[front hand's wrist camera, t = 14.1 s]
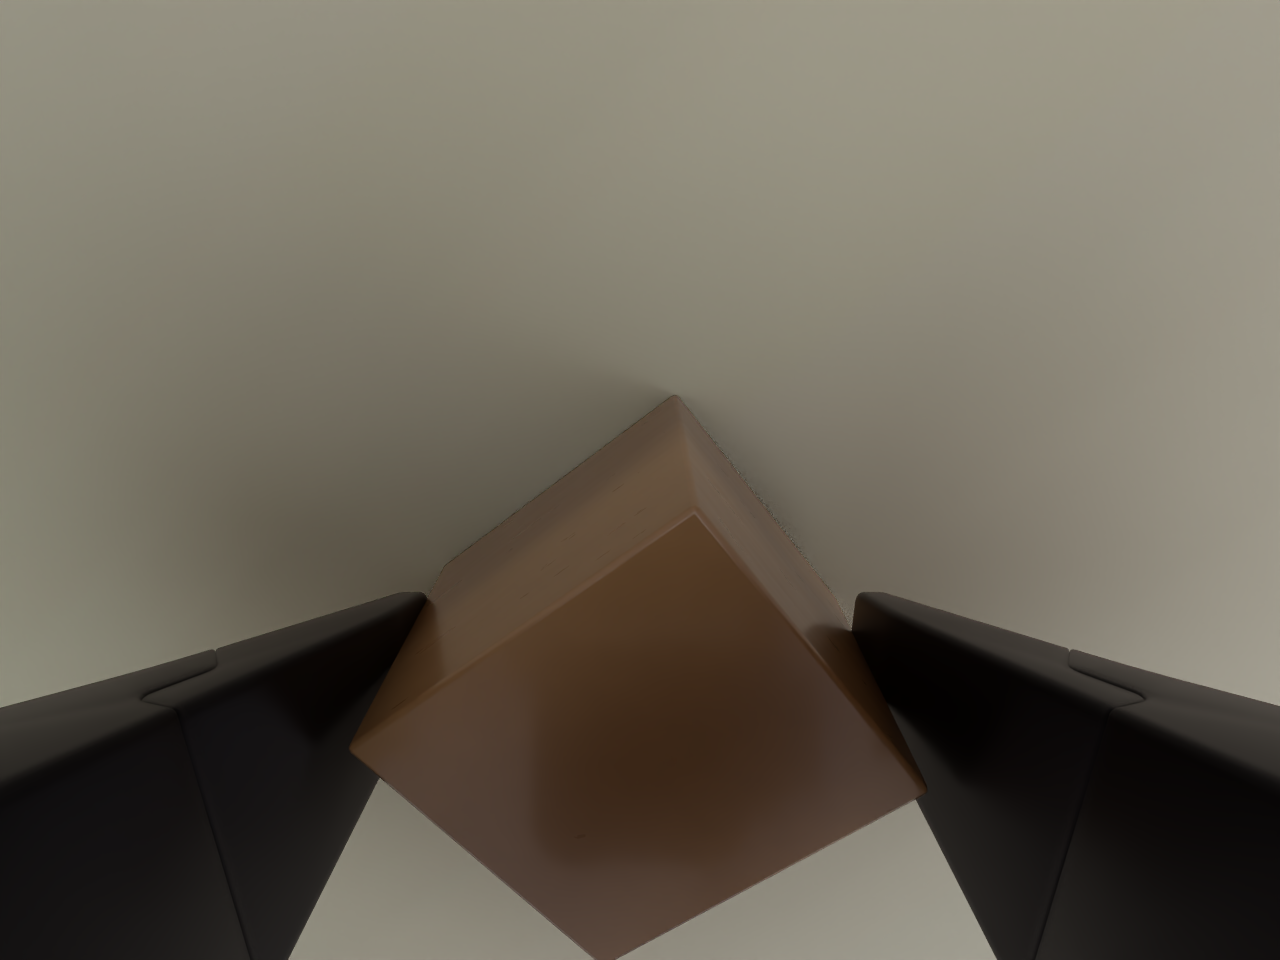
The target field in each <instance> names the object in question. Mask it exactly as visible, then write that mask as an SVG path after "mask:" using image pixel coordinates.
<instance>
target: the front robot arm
mask: <svg viewBox="0 0 1280 960" xmlns="http://www.w3.org/2000/svg"><path fill="white" fill-rule="evenodd" d="M426 600H427V597H426V595H425V594H424V593H422V592H402V593H397V594H394V595H390V596H387V597H384V598H381V599H377V600H374V601H371V602H367V603H364V604H361V605H358V606H354V607H351V608H348V609H345V610H341V611H338V612H335V613H332V614H328V615H325V616H322V617H318V618H315V619H312V620H309V621H305V622H302V623H299V624H296V625H292V626H289V627H286V628H283V629H279V630H276V631H273V632H269V633H266V634H263V635H260V636H256V637H253V638H250V639H247V640H243V641H240V642H237V643H234V644H230V645H227V646H224V647H220V648H218V649H217V650H216V652H215V650H213V649H211V650H208V651H204V652H201V653H198V654H194V655H191V656H188V657H184V658H181V659H178V660H174V661H171V662H167V663H164V664H160V665H157V666H154V667H150V668H147V669H143V670H139V671H136V672H132V673H129V674H125V675H121V676H118V677H114V678H111V679H107V680H103V681H99V682H96V683H92V684H88V685H84V686H81V687H77V688H73V689H69V690H66V691H62V692H58V693H54V694H51V695H47V696H43V697H39V698H36V699H32V700H28V701H24V702H20V703H17V704H13V705H9V706H5V707H2V708H0V960H288V959H289V957H290V955H291V953H292V951H293V949H294V947H295V945H296V943H297V941H298V939H299V937H300V935H301V933H302V931H303V929H304V927H305V925H306V923H307V921H308V919H309V917H310V915H311V913H312V911H313V909H314V907H315V905H316V903H317V901H318V899H319V897H320V895H321V893H322V891H323V889H324V887H325V885H326V883H327V881H328V879H329V877H330V875H331V873H332V871H333V869H334V867H335V865H336V863H337V861H338V859H339V857H340V855H341V853H342V851H343V849H344V847H345V845H346V843H347V841H348V839H349V837H350V835H351V833H352V831H353V829H354V827H355V825H356V823H357V821H358V819H359V817H360V815H361V813H362V811H363V809H364V807H365V805H366V803H367V801H368V799H369V797H370V795H371V793H372V791H373V789H374V787H375V785H376V783H377V781H378V779H379V776H377V775H376V774H375V773H374V772H373V771H372V770H370V769H369V768H368V767H367V766H366V765H364V764H363V763H362V762H361V761H360V760H359V759H357V758H356V757H355V756H354V755H353V754H352V753H351V752H350V751H349V745H350V743H351V742H352V740H353V738H354V736H355V734H356V732H357V730H358V728H359V726H360V725H361V723H362V721H363V719H364V717H365V715H366V713H367V711H368V709H369V708H370V706H371V704H372V702H373V700H374V698H375V696H376V694H377V693H378V691H379V689H380V687H381V685H382V683H383V681H384V679H385V677H386V676H387V674H388V672H389V670H390V668H391V666H392V664H393V662H394V660H395V659H396V657H397V655H398V653H399V651H400V649H401V647H402V645H403V643H404V642H405V640H406V638H407V636H408V634H409V632H410V630H411V628H412V626H413V625H414V623H415V621H416V619H417V617H418V615H419V613H420V611H421V610H422V608H423V606H424V604H425V602H426ZM852 633H853V635H854V637H855V639H856V641H857V643H858V645H859V647H860V649H861V652H862V654H863V656H864V658H865V660H866V662H867V664H868V666H869V668H870V670H871V672H872V674H873V676H874V678H875V680H876V682H877V684H878V686H879V688H880V690H881V692H882V694H883V696H884V698H885V700H886V702H887V704H888V706H889V708H890V710H891V712H892V715H893V717H894V719H895V721H896V723H897V725H898V727H899V729H900V731H901V733H902V735H903V737H904V739H905V741H906V743H907V745H908V747H909V749H910V751H911V753H912V756H913V758H914V760H915V762H916V764H917V766H918V768H919V770H920V772H921V774H922V776H923V778H924V780H925V782H926V784H927V790H928V792H927V793H926V794H925V795H923V796H921V797H919V798H917V799H916V801H917V803H918V805H919V807H920V809H921V811H922V813H923V815H924V817H925V819H926V821H927V823H928V824H929V826H930V828H931V830H932V832H933V834H934V836H935V838H936V840H937V842H938V844H939V846H940V848H941V850H942V852H943V854H944V856H945V858H946V860H947V862H948V864H949V866H950V868H951V870H952V872H953V874H954V876H955V878H956V880H957V882H958V884H959V886H960V888H961V890H962V891H963V893H964V895H965V897H966V899H967V901H968V903H969V905H970V907H971V909H972V911H973V913H974V915H975V917H976V919H977V921H978V923H979V925H980V927H981V929H982V931H983V933H984V935H985V937H986V939H987V941H988V943H989V945H990V947H991V949H992V951H993V953H994V955H995V956H996V958H997V960H1280V706H1277V705H1273V704H1270V703H1266V702H1262V701H1258V700H1255V699H1251V698H1247V697H1243V696H1239V695H1236V694H1232V693H1228V692H1224V691H1220V690H1217V689H1213V688H1209V687H1205V686H1202V685H1198V684H1194V683H1190V682H1186V681H1183V680H1179V679H1175V678H1172V677H1168V676H1164V675H1161V674H1157V673H1153V672H1150V671H1146V670H1143V669H1139V668H1135V667H1132V666H1128V665H1125V664H1121V663H1118V662H1115V661H1111V660H1108V659H1104V658H1101V657H1097V656H1094V655H1091V654H1087V653H1084V652H1081V651H1077V650H1074V649H1072V650H1070V652H1069V650H1068V649H1067V648H1064V647H1061V646H1058V645H1055V644H1051V643H1048V642H1045V641H1041V640H1038V639H1035V638H1032V637H1028V636H1025V635H1022V634H1018V633H1015V632H1012V631H1008V630H1005V629H1002V628H999V627H995V626H992V625H989V624H985V623H982V622H979V621H976V620H972V619H969V618H966V617H962V616H959V615H956V614H952V613H949V612H946V611H943V610H939V609H936V608H933V607H929V606H926V605H923V604H920V603H916V602H913V601H910V600H906V599H903V598H900V597H897V596H893V595H890V594H887V593H881V592H862V593H860V594H858V596H857V598H856V601H855V608H854V616H853V624H852Z"/></svg>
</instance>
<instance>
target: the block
mask: <svg viewBox="0 0 1280 960" xmlns="http://www.w3.org/2000/svg"><path fill="white" fill-rule="evenodd" d="M349 751H350V752H351V753H352V754H353V755H354V756H355V757H356V758H357V759H359V760H360V761H361V762H362V763H363V764H364V765H366V766H367V767H368V768H369V769H370V770H372V771H373V772H374V773H375V774H376V775H377V776H379V777H380V778H381V779H382V780H383V781H385V782H386V783H387V784H388V785H389V786H390V787H392V788H393V789H394V790H395V791H396V792H398V793H399V794H400V795H401V796H402V797H403V798H405V799H406V800H407V801H408V802H409V803H411V804H412V805H413V806H414V807H415V808H416V809H418V810H419V811H420V812H421V813H422V814H424V815H425V816H426V817H427V818H428V819H429V820H431V821H432V822H433V823H434V824H435V825H437V826H438V827H439V828H440V829H441V830H442V831H444V832H445V833H446V834H447V835H448V836H449V837H451V838H452V839H453V840H454V841H455V842H457V843H458V844H459V845H460V846H461V847H462V848H464V849H465V850H466V851H467V852H468V853H470V854H471V855H472V856H473V857H474V858H475V859H477V860H478V861H479V862H480V863H481V864H483V865H484V866H485V867H486V868H487V869H488V870H490V871H491V872H492V873H493V874H494V875H496V876H497V877H498V878H499V879H500V880H501V881H503V882H504V883H505V884H506V885H507V886H509V887H510V888H511V889H512V890H513V891H514V892H516V893H517V894H518V895H519V896H520V897H522V898H523V899H524V900H525V901H526V902H527V903H529V904H530V905H531V906H532V907H533V908H535V909H536V910H537V911H538V912H539V913H540V914H542V915H543V916H544V917H545V918H546V919H547V920H549V921H550V922H551V923H552V924H553V925H555V926H556V927H557V928H558V929H559V930H560V931H562V932H563V933H564V934H565V935H566V936H568V937H569V938H570V939H571V940H572V941H573V942H575V943H576V944H577V945H578V946H579V947H581V948H582V949H583V950H584V951H585V952H586V953H588V954H589V955H590V956H591V957H592V958H594V959H595V960H616V959H617V958H619V957H621V956H623V955H625V954H627V953H629V952H631V951H632V950H634V949H636V948H638V947H640V946H642V945H644V944H646V943H647V942H649V941H651V940H653V939H655V938H657V937H659V936H661V935H662V934H664V933H666V932H668V931H670V930H672V929H674V928H676V927H677V926H679V925H681V924H683V923H685V922H687V921H689V920H690V919H692V918H694V917H696V916H698V915H700V914H702V913H704V912H705V911H707V910H709V909H711V908H713V907H715V906H717V905H719V904H720V903H722V902H724V901H726V900H728V899H730V898H732V897H734V896H735V895H737V894H739V893H741V892H743V891H745V890H747V889H749V888H750V887H752V886H754V885H756V884H758V883H760V882H762V881H764V880H765V879H767V878H769V877H771V876H773V875H775V874H777V873H779V872H780V871H782V870H784V869H786V868H788V867H790V866H792V865H794V864H795V863H797V862H799V861H801V860H803V859H805V858H807V857H809V856H810V855H812V854H814V853H816V852H818V851H820V850H822V849H824V848H825V847H827V846H829V845H831V844H833V843H835V842H837V841H839V840H840V839H842V838H844V837H846V836H848V835H850V834H852V833H854V832H855V831H857V830H859V829H861V828H863V827H865V826H867V825H869V824H870V823H872V822H874V821H876V820H878V819H880V818H882V817H884V816H885V815H887V814H889V813H891V812H893V811H895V810H897V809H899V808H900V807H902V806H904V805H906V804H908V803H910V802H912V801H914V800H915V799H917V798H919V797H921V796H923V795H925V794H926V793H927V792H928V790H927V784H926V782H925V780H924V778H923V776H922V774H921V772H920V770H919V768H918V766H917V764H916V762H915V760H914V758H913V756H912V753H911V751H910V749H909V747H908V745H907V743H906V741H905V739H904V737H903V735H902V733H901V731H900V729H899V727H898V725H897V723H896V721H895V719H894V717H893V715H892V712H891V710H890V708H889V706H888V704H887V702H886V700H885V698H884V696H883V694H882V692H881V690H880V688H879V686H878V684H877V682H876V680H875V678H874V676H873V674H872V672H871V670H870V668H869V666H868V664H867V662H866V660H865V658H864V656H863V654H862V652H861V649H860V647H859V645H858V643H857V641H856V639H855V637H854V635H853V633H852V631H851V629H850V626H849V624H848V622H847V620H846V618H845V616H844V614H843V612H842V610H841V608H840V606H839V604H838V602H837V600H836V598H835V597H834V595H833V594H832V593H831V592H830V590H829V589H828V588H827V586H826V585H825V584H824V583H823V581H822V580H821V579H820V577H819V576H818V575H817V574H816V572H815V571H814V570H813V568H812V567H811V566H810V565H809V563H808V562H807V561H806V559H805V558H804V557H803V556H802V554H801V553H800V552H799V550H798V549H797V548H796V547H795V545H794V544H793V543H792V541H791V540H790V539H789V538H788V536H787V535H786V534H785V532H784V531H783V530H782V529H781V527H780V526H779V525H778V523H777V522H776V521H775V520H774V518H773V517H772V516H771V515H770V513H769V512H768V511H767V509H766V508H765V507H764V506H763V504H762V503H761V502H760V500H759V499H758V498H757V497H756V495H755V494H754V493H753V491H752V490H751V489H750V488H749V486H748V485H747V484H746V482H745V481H744V480H743V479H742V477H741V476H740V475H739V473H738V472H737V471H736V470H735V468H734V467H733V466H732V464H731V463H730V462H729V461H728V459H727V458H726V457H725V455H724V454H723V453H722V452H721V450H720V449H719V448H718V447H717V445H716V444H715V443H714V441H713V440H712V439H711V438H710V436H709V435H708V434H707V432H706V431H705V430H704V429H703V427H702V426H701V425H700V423H699V422H698V421H697V420H696V418H695V417H694V416H693V414H692V413H691V412H690V411H689V409H688V408H687V407H686V405H685V404H684V403H683V402H682V400H681V399H680V398H679V397H678V396H676V395H675V396H672V397H670V398H669V399H668V400H666V401H665V402H664V403H662V404H661V405H660V406H658V407H657V408H655V409H654V410H653V411H651V412H650V413H649V414H647V415H646V416H645V417H643V418H642V419H641V420H639V421H638V422H637V423H635V424H634V425H633V426H631V427H630V428H629V429H627V430H626V431H625V432H623V433H622V434H621V435H619V436H618V437H617V438H615V439H614V440H613V441H611V442H610V443H609V444H607V445H606V446H605V447H603V448H602V449H601V450H599V451H598V452H597V453H595V454H594V455H593V456H591V457H590V458H589V459H587V460H586V461H585V462H583V463H582V464H581V465H579V466H578V467H577V468H575V469H574V470H573V471H571V472H570V473H568V474H567V475H566V476H564V477H563V478H562V479H560V480H559V481H558V482H556V483H555V484H554V485H552V486H551V487H550V488H548V489H547V490H546V491H544V492H543V493H542V494H540V495H539V496H538V497H536V498H535V499H534V500H532V501H531V502H530V503H528V504H527V505H526V506H524V507H523V508H522V509H520V510H519V511H518V512H516V513H515V514H514V515H512V516H511V517H510V518H508V519H507V520H506V521H504V522H503V523H502V524H500V525H499V526H498V527H496V528H495V529H494V530H492V531H491V532H490V533H488V534H487V535H486V536H484V537H483V538H481V539H480V540H479V541H477V542H476V543H475V544H473V545H472V546H471V547H469V548H468V549H467V550H465V551H464V552H463V553H461V554H460V555H459V556H457V557H456V558H455V559H453V560H452V561H451V562H449V563H448V564H447V565H445V566H444V568H443V570H442V572H441V574H440V576H439V577H438V579H437V581H436V583H435V585H434V587H433V589H432V591H431V593H430V594H429V596H428V598H427V600H426V602H425V604H424V606H423V608H422V610H421V611H420V613H419V615H418V617H417V619H416V621H415V623H414V625H413V626H412V628H411V630H410V632H409V634H408V636H407V638H406V640H405V642H404V643H403V645H402V647H401V649H400V651H399V653H398V655H397V657H396V659H395V660H394V662H393V664H392V666H391V668H390V670H389V672H388V674H387V676H386V677H385V679H384V681H383V683H382V685H381V687H380V689H379V691H378V693H377V694H376V696H375V698H374V700H373V702H372V704H371V706H370V708H369V709H368V711H367V713H366V715H365V717H364V719H363V721H362V723H361V725H360V726H359V728H358V730H357V732H356V734H355V736H354V738H353V740H352V742H351V743H350V745H349Z"/></svg>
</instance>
